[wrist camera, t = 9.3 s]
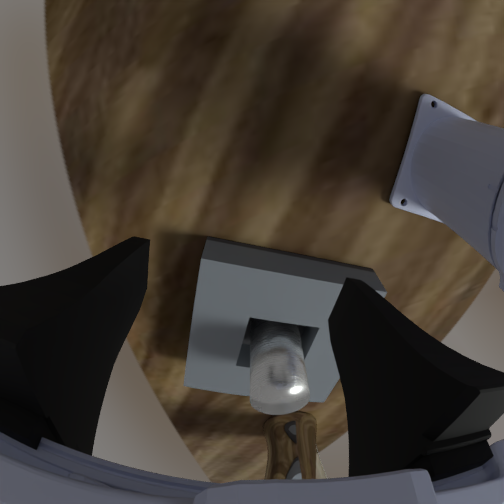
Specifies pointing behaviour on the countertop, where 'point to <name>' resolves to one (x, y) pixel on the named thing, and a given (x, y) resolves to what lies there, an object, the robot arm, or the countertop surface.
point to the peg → (277, 368)
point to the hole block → (263, 312)
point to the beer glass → (292, 447)
